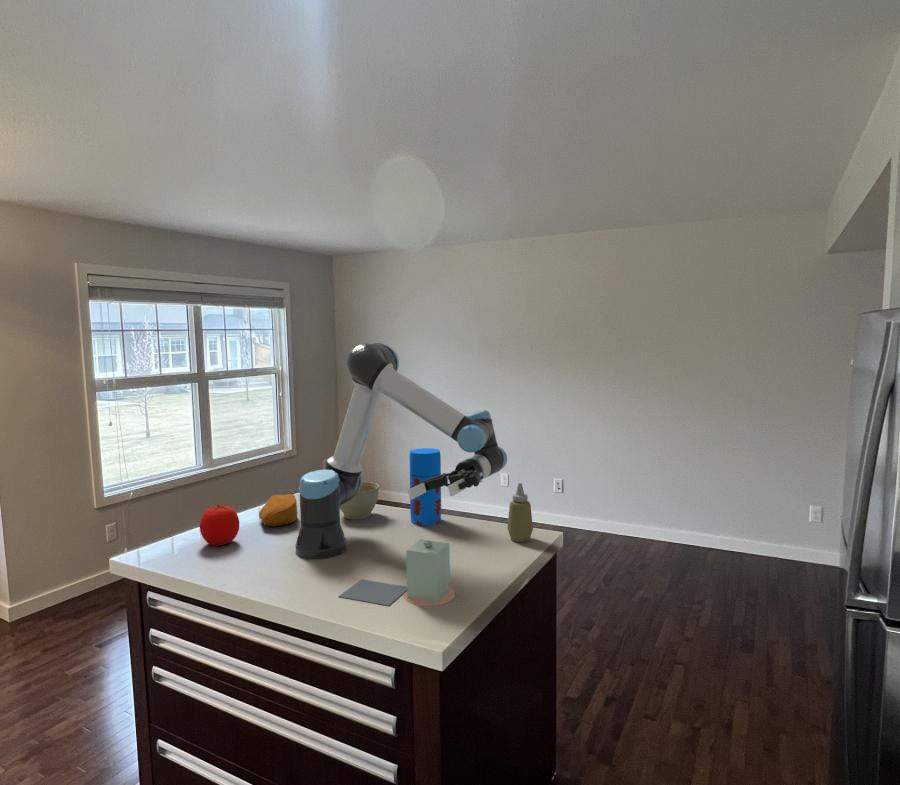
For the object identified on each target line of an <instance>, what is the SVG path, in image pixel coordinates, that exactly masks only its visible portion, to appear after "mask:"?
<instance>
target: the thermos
mask: <svg viewBox="0 0 900 785" xmlns="http://www.w3.org/2000/svg"><path fill="white" fill-rule="evenodd" d="M408 455H409V460H408V462H409V489H411V488H413V487H415V486H417V484H416V483H418V482H421V481H424V480H427V479H430V478H433V477H436V476H439V475H441V474H442V472H441V471H442V469H441V467H442V464H441V463H442V462H441V461H442V460H441V459H442V457H441V451H440V449H438V448H432V447H428V448H427V447H422V448H413V449H411V450H409V454H408ZM409 509H410V510H409V511H410V522H411V524H413V525H415V524H416V525H415V526H420V525H430V526H435V525H439V524H440V523H441V521H442V487H439V488H435V489H432V490H428V491H426V493H425V494H424V495H423V494H422V495H420V496H418V497H416V498H414V499H412V500H410V499H409ZM434 524H435V525H434Z"/></svg>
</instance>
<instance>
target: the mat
mask: <svg viewBox="0 0 900 785" xmlns="http://www.w3.org/2000/svg"><path fill="white" fill-rule="evenodd" d="M406 591H407V585H406V586H405V585H398V584H394V583H386V582H381V581H375V580H370V579H369V580H368V579H364V578H362V579H360V580H358V581H356V583H355V584H352V585H351V587H349V588H347V589H346V590H345V591H343V592H342V593H340V595H338V596H337V597H338V598H342V599H347V600H350V601H359V602H363V603H369V604H373V605H374V604H375V605H378V606H379V605H380V606H384V607H390V606H391V605H393V604H394V603H395V602H396V601H397V600H398V599H399V598H400V597H401V596H403V593H405V592H406Z"/></svg>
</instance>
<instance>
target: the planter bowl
mask: <svg viewBox="0 0 900 785" xmlns="http://www.w3.org/2000/svg"><path fill="white" fill-rule="evenodd" d="M379 489H380V485H379V484H378V483H376V482H369V481H362V484H361V488H360V490H359V492H358V493H357V494H356V496H355V497H354V498H353V499H351V500H350V501H348V502H346V503H345V504H343V505H341V506H340V512H342V513H343V517H344V519H348V520H361V519H367V518H369V517H371V515H372V511H373V510H374V509H375V507H376V504H377V502H378V500H379Z"/></svg>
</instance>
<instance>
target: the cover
mask: <svg viewBox="0 0 900 785" xmlns="http://www.w3.org/2000/svg"><path fill="white" fill-rule="evenodd" d="M405 551H406V552H405V553H406V556H405V558H406V587H407V598H410V599H416V600H422V601H427V602H433V603H438V602H439V601H440V600H441V599H442V598H443V597H444V596H445V595H446V594H447V592H448V591H449V590H450V587H451V581H450V580H451V575H450V574H451V571H450V570H451V569H450V568H451V567H450V566H451V564H450V542H443V541H442V542H441V541H434V540H427V539H419V540H418V541H417V542H415V543H414V544H412V545H411V546H410V547H408V548H406V550H405Z"/></svg>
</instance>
